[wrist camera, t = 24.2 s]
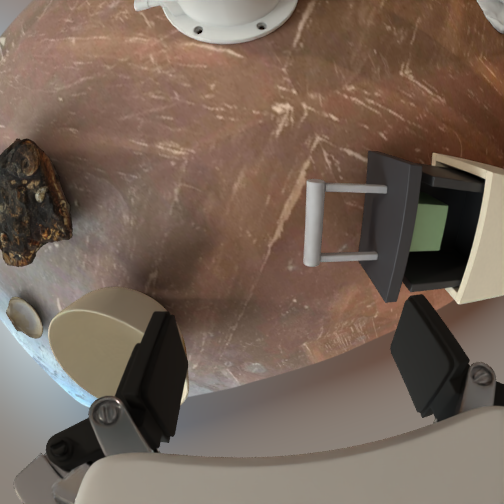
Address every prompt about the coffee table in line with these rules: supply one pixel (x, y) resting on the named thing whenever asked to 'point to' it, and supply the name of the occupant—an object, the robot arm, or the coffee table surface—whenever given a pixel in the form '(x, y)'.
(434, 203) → the block
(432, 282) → the dark grey drawer
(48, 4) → the coffee table surface
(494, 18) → the figurine
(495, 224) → the cream drawer box
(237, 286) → the coffee table surface
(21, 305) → the seashell
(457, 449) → the robot arm
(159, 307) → the bowl
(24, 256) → the fossil rock
